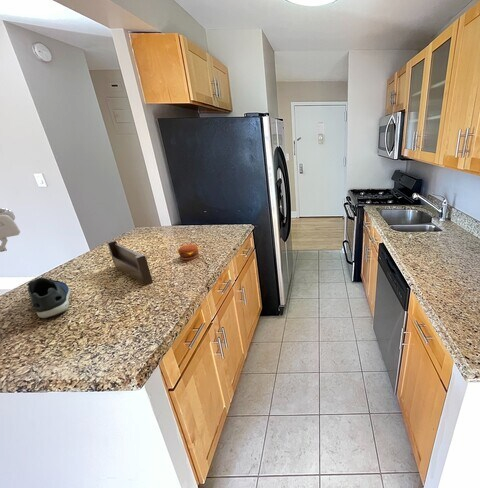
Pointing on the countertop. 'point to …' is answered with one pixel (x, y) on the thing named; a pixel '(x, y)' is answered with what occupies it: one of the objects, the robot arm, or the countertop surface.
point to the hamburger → (188, 252)
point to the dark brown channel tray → (130, 262)
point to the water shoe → (49, 297)
